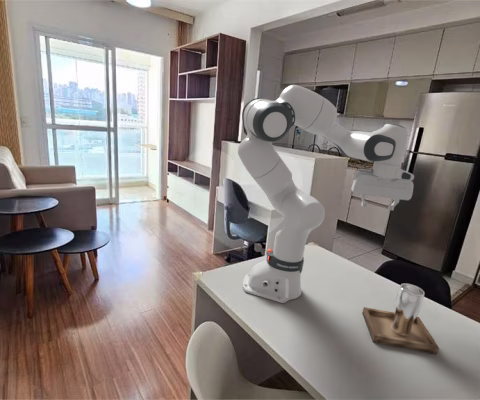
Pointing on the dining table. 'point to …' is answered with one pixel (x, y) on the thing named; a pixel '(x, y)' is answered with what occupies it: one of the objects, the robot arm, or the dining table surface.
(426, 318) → the dining table surface
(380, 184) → the robot arm
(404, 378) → the dining table surface
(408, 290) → the beer glass
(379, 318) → the walnut tray
